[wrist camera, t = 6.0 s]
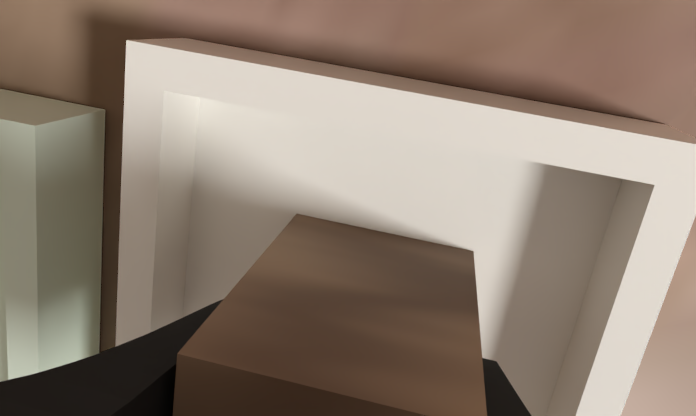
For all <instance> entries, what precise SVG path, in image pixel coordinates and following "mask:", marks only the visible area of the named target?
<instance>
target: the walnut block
mask: <svg viewBox="0 0 696 416" xmlns="http://www.w3.org/2000/svg"><path fill="white" fill-rule="evenodd" d="M173 416H487V410H486V397H485V385H484V373H483V361H482V349H481V337H480V324H479V312H478V300H477V288H476V276H475V264H474V252H473V251H471V250H466V249H461V248H457V247H452V246H447V245H442V244H438V243H433V242H428V241H424V240H419V239H414V238H409V237H405V236H400V235H395V234H391V233H386V232H381V231H377V230H372V229H367V228H362V227H358V226H353V225H348V224H344V223H339V222H334V221H330V220H325V219H320V218H315V217H311V216H306V215H301V214H296V215H295V216H294V217H293V218H292V220H291V221H290V222H289V223H288V224H287V226H286V227H285V228H284V229H283V230H282V231H281V233H280V234H279V235H278V236H277V237H276V238H275V240H274V241H273V242H272V243H271V244H270V245H269V247H268V248H267V249H266V250H265V251H264V252H263V254H262V255H261V256H260V257H259V258H258V260H257V261H256V262H255V263H254V264H253V265H252V267H251V268H250V269H249V270H248V271H247V272H246V274H245V275H244V276H243V277H242V278H241V279H240V281H239V282H238V283H237V284H236V285H235V286H234V288H233V289H232V290H231V291H230V292H229V294H228V295H227V296H226V297H225V298H224V299H223V301H222V302H221V303H220V304H219V305H218V306H217V308H216V309H215V310H214V311H213V312H212V313H211V315H210V316H209V317H208V318H207V319H206V320H205V322H204V323H203V324H202V325H201V326H200V328H199V329H198V330H197V331H196V332H195V333H194V335H193V336H192V337H191V338H190V339H189V340H188V342H187V343H186V344H185V345H184V346H183V347H182V349H181V350H180V351H179V352H178V353H177V363H176V377H175V390H174V403H173Z"/></svg>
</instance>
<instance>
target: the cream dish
mask: <svg viewBox="0 0 696 416" xmlns="http://www.w3.org/2000/svg"><path fill="white" fill-rule="evenodd" d="M296 214H301V215H306V216H311V217H315V218H320V219H325V220H330V221H334V222H339V223H344V224H348V225H353V226H358V227H362V228H367V229H372V230H377V231H381V232H386V233H391V234H395V235H400V236H405V237H409V238H414V239H419V240H424V241H428V242H433V243H438V244H442V245H447V246H452V247H457V248H461V249H466V250H471V251H473V252H474V264H475V276H476V288H477V300H478V312H479V324H480V337H481V349H482V358H485V359H489V360H494V361H497V363H498V364H499V366H500V368H501V369H502V371H503V372H504V374H505V375H506V377H507V379H508V380H509V382H510V383H511V385H512V386H513V388H514V390H515V391H516V393H517V394H518V396H519V397H520V399H521V400H522V402H523V404H524V405H525V407H526V408H527V410H528V411H529V413H530V414H531V416H621V413H622V411H623V408H624V405H625V403H626V400H627V397H628V395H629V392H630V389H631V387H632V384H633V381H634V379H635V376H636V373H637V371H638V368H639V365H640V363H641V360H642V357H643V355H644V352H645V349H646V347H647V344H648V341H649V339H650V336H651V333H652V330H653V328H654V325H655V322H656V320H657V317H658V314H659V312H660V309H661V306H662V304H663V301H664V298H665V296H666V293H667V290H668V288H669V285H670V282H671V280H672V277H673V274H674V272H675V269H676V266H677V264H678V261H679V258H680V256H681V253H682V250H683V248H684V245H685V242H686V240H687V237H688V234H689V232H690V229H691V226H692V223H693V221H694V218H695V215H696V137H693V136H691V135H689V134H687V133H685V132H682V131H680V130H678V129H676V128H674V127H671V126H669V125H665V124H660V123H654V122H648V121H643V120H637V119H632V118H626V117H621V116H615V115H610V114H604V113H599V112H593V111H587V110H582V109H576V108H571V107H565V106H560V105H554V104H549V103H543V102H538V101H532V100H526V99H521V98H515V97H510V96H504V95H499V94H493V93H488V92H482V91H477V90H471V89H465V88H460V87H454V86H449V85H443V84H438V83H432V82H427V81H421V80H416V79H410V78H405V77H399V76H393V75H388V74H382V73H377V72H371V71H366V70H360V69H355V68H349V67H344V66H338V65H332V64H327V63H321V62H316V61H310V60H305V59H299V58H294V57H288V56H283V55H277V54H271V53H266V52H260V51H255V50H249V49H244V48H238V47H233V46H227V45H222V44H216V43H210V42H205V41H199V40H194V39H188V38H168V39H141V40H126V61H125V89H124V118H123V146H122V175H121V203H120V232H119V260H118V288H117V317H116V345H115V347H116V346H118V345H121V344H123V343H126V342H128V341H131V340H133V339H136V338H138V337H141V336H143V335H146V334H148V333H150V332H153V331H155V330H157V329H159V328H161V327H163V326H166V325H168V324H170V323H172V322H174V321H176V320H179V319H181V318H183V317H185V316H187V315H189V314H191V313H193V312H196V311H198V310H200V309H202V308H204V307H206V306H208V305H210V304H213V303H215V302H217V301H220V300H222V299H224V298H225V297H226V296H227V295H228V294H229V292H230V291H231V290H232V289H233V288H234V286H235V285H236V284H237V283H238V282H239V281H240V279H241V278H242V277H243V276H244V275H245V274H246V272H247V271H248V270H249V269H250V268H251V267H252V265H253V264H254V263H255V262H256V261H257V260H258V258H259V257H260V256H261V255H262V254H263V252H264V251H265V250H266V249H267V248H268V247H269V245H270V244H271V243H272V242H273V241H274V240H275V238H276V237H277V236H278V235H279V234H280V233H281V231H282V230H283V229H284V228H285V227H286V226H287V224H288V223H289V222H290V221H291V220H292V218H293V217H294V216H295V215H296Z"/></svg>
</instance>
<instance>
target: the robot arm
mask: <svg viewBox="0 0 696 416" xmlns="http://www.w3.org/2000/svg"><path fill="white" fill-rule="evenodd" d="M222 301H223V299H222V300H220V301H217V302H215V303H213V304H210V305H208V306H206V307H204V308H202V309H200V310H198V311H196V312H193V313H191V314H189V315H187V316H185V317H183V318H181V319H179V320H176V321H174V322H172V323H170V324H168V325H166V326H163V327H161V328H159V329H157V330H155V331H153V332H150V333H148V334H146V335H143V336H141V337H138V338H136V339H133V340H131V341H128V342H126V343H123V344H121V345H118V346H116V347H114V348H111V349H109V350H106V351H104V352H101V353H98V354H96V355H93V356H90V357H87V358H84V359H81V360H78V361H75V362H72V363H69V364H65V365H62V366H59V367H56V368H52V369H49V370H46V371H42V372H39V373H35V374H31V375H27V376H23V377H18V378H14V379H10V380H6V381H1V382H0V416H173V403H174V390H175V377H176V363H177V353H178V352H179V351H180V350H181V349H182V347H183V346H184V345H185V344H186V343H187V342H188V340H189V339H190V338H191V337H192V336H193V335H194V333H195V332H196V331H197V330H198V329H199V328H200V326H201V325H202V324H203V323H204V322H205V320H206V319H207V318H208V317H209V316H210V315H211V313H212V312H213V311H214V310H215V309H216V308H217V306H218V305H219V304H220V303H221V302H222ZM482 361H483V373H484V385H485V397H486V410H487V416H531V414H530V413H529V411H528V410H527V408H526V407H525V405H524V404H523V402H522V400H521V399H520V397H519V396H518V394H517V393H516V391H515V390H514V388H513V386H512V385H511V383H510V382H509V380H508V379H507V377H506V375H505V374H504V372H503V371H502V369H501V368H500V366H499V364H498V363H497V361H494V360H489V359H485V358H482Z"/></svg>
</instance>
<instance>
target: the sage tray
mask: <svg viewBox="0 0 696 416" xmlns="http://www.w3.org/2000/svg"><path fill="white" fill-rule="evenodd" d="M104 143H105V109H100V108H95V107H90V106H85V105H80V104H75V103H70V102H65V101H60V100H55V99H50V98H45V97H40V96H35V95H30V94H25V93H20V92H15V91H10V90H5V89H0V382H1V381H6V380H10V379H14V378H18V377H23V376H27V375H31V374H35V373H39V372H42V371H46V370H49V369H52V368H56V367H59V366H62V365H65V364H69V363H72V362H75V361H78V360H81V359H84V358H87V357H90V356H93V355H96V354H98V353H99V343H100V303H101V263H102V223H103V183H104Z"/></svg>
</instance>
